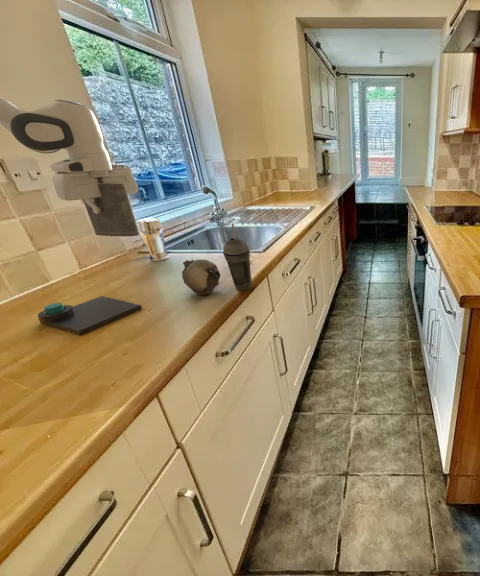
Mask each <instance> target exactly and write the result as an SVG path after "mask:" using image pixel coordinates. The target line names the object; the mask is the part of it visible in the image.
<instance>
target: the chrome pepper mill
mask: <svg viewBox="0 0 480 576" xmlns="http://www.w3.org/2000/svg"><path fill="white" fill-rule="evenodd" d="M137 225H138V231H139V234H140V236H141V239H142V240H143V242H144V244H145V246H146V247H147V250H148V253H149V260H150V261H154V262H155V261H163V260H167V259H169V257H170V255H169V253H168V252H167V250H166V245H165V237H164V235H165V234H164V230H163V228H162V224H161V222H160V219H159V218H157V217H151V218H149V217H148V218H142V219H138V220H137Z"/></svg>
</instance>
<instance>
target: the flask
mask: <svg viewBox="0 0 480 576" xmlns="http://www.w3.org/2000/svg"><path fill="white" fill-rule="evenodd" d="M95 179H98V181H97V183H101V182H103V180H102V179H103V178H102V177H97V178H95ZM98 187H99V190H100V193H101V197H99V198H94V200H95V202H93V203H94V204H95V205H96V206H97V207H101V209H102V212H103V213H98V214H95V213H94V212H93V209H92V207H90V206H89V205H88V204H87V203H86V202H85V200H84V199H82V200H83V204H84V207H85V209H86V212H87V214H88V217H89V220H90V223H91V226H92V227H93V229H92V230H93V231H94V234H95V235H96V236H101V237H138V236H140V231H139V228H138V226H137V223H136V219H135V216H134V213H133V209H132V206H131V202H130V199H129V196H128V194H127V193H126V190H125V186H124V184H123V183H107V184H98Z"/></svg>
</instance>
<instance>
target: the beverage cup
mask: <svg viewBox="0 0 480 576" xmlns="http://www.w3.org/2000/svg"><path fill="white" fill-rule="evenodd" d="M231 228H232V235H233V237H232V238H229V239H228V240H226V241H225V243H224V245H223V249H222V251H223V256H224V259H225V261H226V263H227V266H228V269H229V272H230V275H231V279H232V282H233V285H234V287H235V290H236V289H237V290H236V291H238V290H239V292H244V291H248V290H250V289H252V273H251V261H250V257H251V250H250V247H249V245H248V244H247V242H246V241H245V240H243V239H242V238H238V237H236V230H235V225H234V223H231Z"/></svg>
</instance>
